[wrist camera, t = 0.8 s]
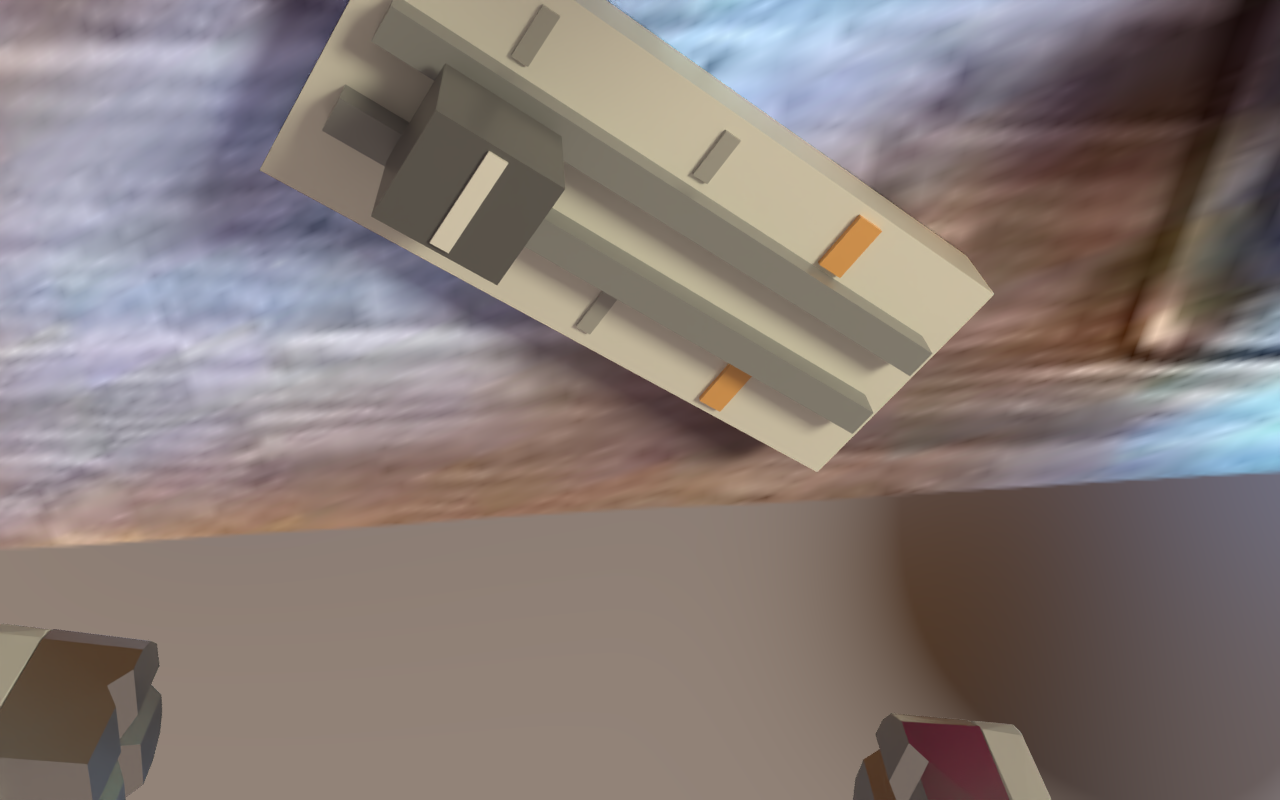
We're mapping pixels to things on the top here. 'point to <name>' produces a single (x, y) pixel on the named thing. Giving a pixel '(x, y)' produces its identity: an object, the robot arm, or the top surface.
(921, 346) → the fader console
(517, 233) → the fader tab
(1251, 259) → the top surface
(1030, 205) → the top surface
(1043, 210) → the top surface
